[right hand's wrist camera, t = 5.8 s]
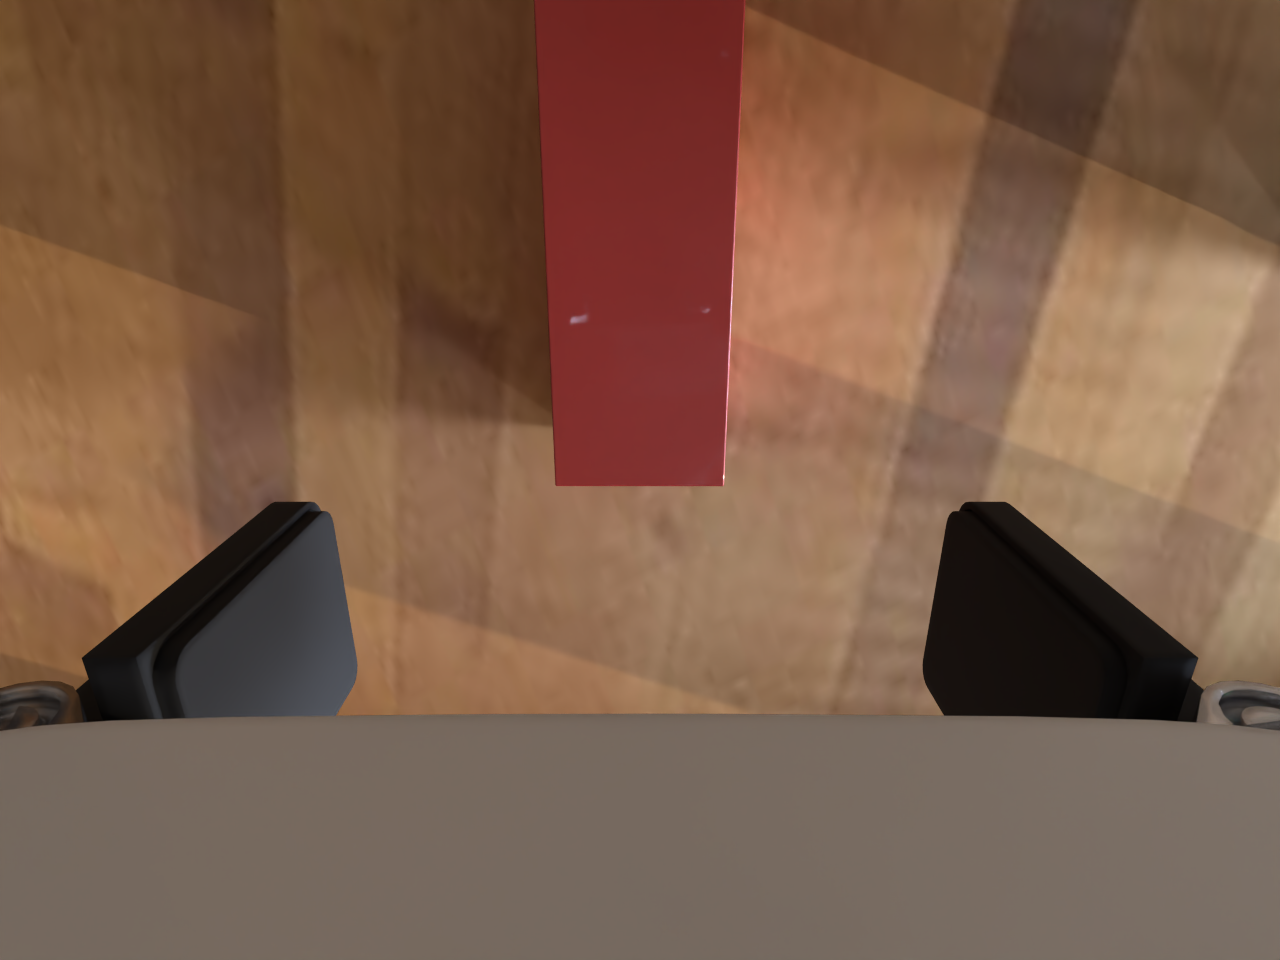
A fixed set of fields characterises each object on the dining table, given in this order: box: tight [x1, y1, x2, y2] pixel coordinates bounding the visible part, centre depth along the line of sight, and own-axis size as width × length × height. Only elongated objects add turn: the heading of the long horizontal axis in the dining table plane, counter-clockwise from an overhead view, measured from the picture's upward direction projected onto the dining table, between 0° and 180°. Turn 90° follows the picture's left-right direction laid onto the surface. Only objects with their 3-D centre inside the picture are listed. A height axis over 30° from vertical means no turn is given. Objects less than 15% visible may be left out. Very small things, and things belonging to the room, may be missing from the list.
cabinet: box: [534, 0, 745, 486], centre depth 28 cm, size 20×7×8 cm, turn 0°
